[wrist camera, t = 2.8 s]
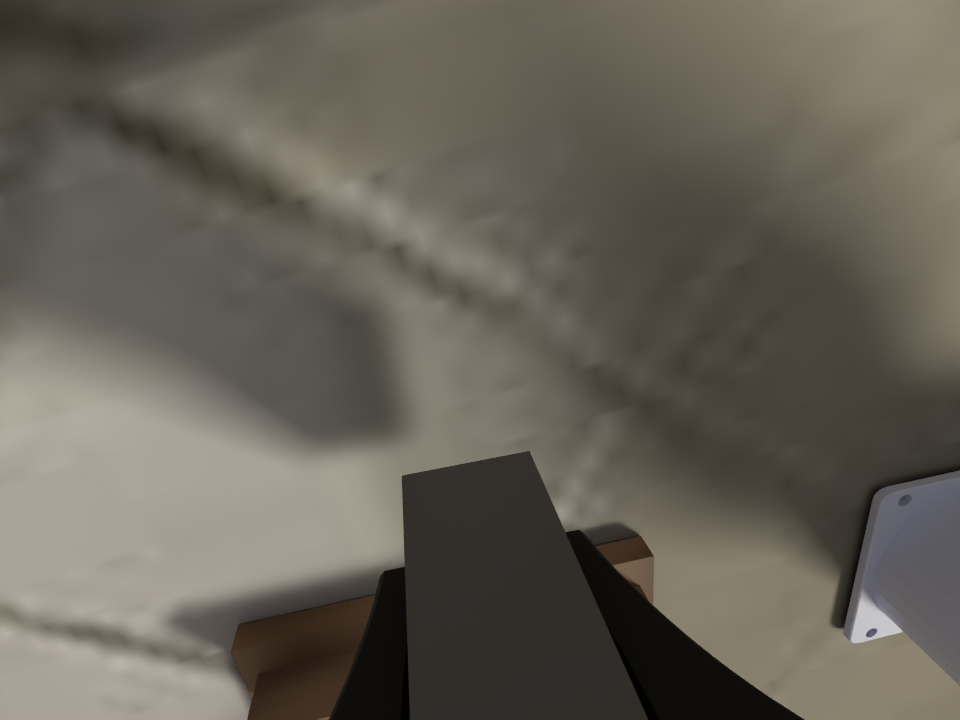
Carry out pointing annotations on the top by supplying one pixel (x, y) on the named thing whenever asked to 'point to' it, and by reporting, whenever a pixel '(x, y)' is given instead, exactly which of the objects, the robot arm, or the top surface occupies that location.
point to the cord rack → (348, 645)
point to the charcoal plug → (502, 603)
